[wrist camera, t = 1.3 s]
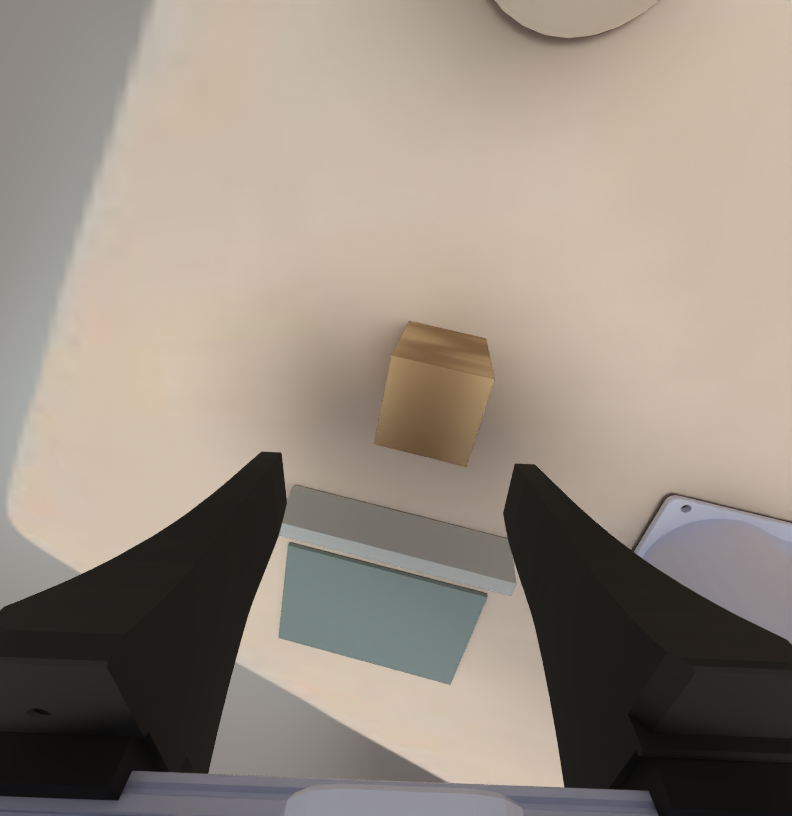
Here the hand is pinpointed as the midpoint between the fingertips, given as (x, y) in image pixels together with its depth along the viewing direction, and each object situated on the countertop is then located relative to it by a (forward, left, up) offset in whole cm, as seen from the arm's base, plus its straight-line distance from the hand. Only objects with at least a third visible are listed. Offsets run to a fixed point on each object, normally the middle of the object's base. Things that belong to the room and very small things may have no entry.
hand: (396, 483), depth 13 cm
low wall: (-1, +10, -10) cm, 14 cm away
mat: (-1, +19, -10) cm, 22 cm away
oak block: (-1, -1, -10) cm, 10 cm away
